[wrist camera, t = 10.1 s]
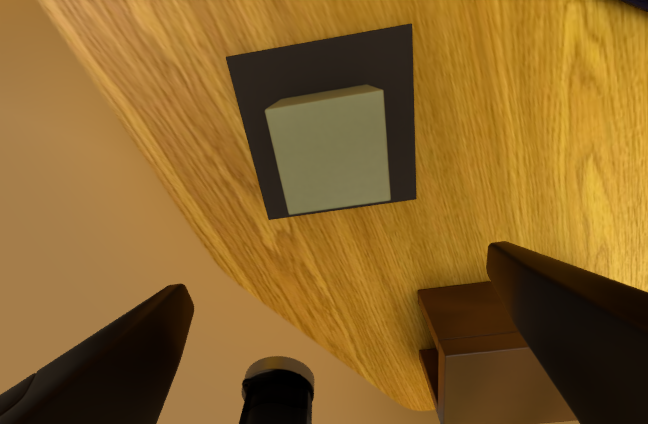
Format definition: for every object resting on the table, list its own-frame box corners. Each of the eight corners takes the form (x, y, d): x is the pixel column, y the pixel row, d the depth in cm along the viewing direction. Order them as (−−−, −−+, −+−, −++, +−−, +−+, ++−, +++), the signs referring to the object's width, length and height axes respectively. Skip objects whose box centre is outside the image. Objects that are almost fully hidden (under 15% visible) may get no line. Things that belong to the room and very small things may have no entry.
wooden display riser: (419, 359, 27) (443, 432, 21) (417, 289, 23) (445, 356, 18) (558, 344, 26) (619, 417, 21) (576, 270, 23) (656, 334, 17)
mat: (269, 217, 21) (268, 220, 20) (227, 57, 16) (225, 57, 16) (414, 197, 20) (416, 199, 20) (410, 24, 16) (412, 23, 15)
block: (297, 181, 19) (288, 215, 15) (280, 98, 17) (264, 109, 12) (375, 169, 19) (391, 200, 14) (367, 84, 17) (383, 89, 12)
